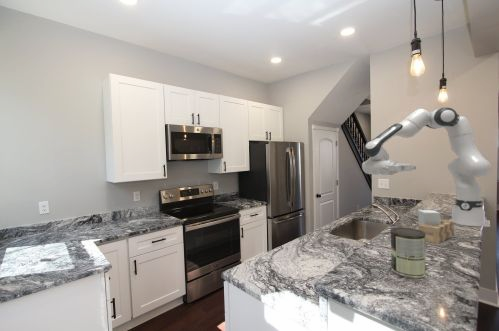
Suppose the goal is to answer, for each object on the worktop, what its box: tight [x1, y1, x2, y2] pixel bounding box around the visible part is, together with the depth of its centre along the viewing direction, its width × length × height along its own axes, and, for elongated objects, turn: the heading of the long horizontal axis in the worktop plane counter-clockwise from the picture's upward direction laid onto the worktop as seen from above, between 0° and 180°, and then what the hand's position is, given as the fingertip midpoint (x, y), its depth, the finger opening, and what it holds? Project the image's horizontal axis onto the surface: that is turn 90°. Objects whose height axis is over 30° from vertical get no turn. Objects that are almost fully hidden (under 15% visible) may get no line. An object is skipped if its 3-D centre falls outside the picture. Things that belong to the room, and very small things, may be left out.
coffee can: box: [390, 227, 427, 279], centre depth 87 cm, size 10×10×14 cm
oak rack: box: [417, 219, 455, 245], centre depth 124 cm, size 21×8×7 cm, turn 126°
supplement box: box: [417, 209, 442, 226], centre depth 127 cm, size 7×7×13 cm
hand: (414, 167), depth 140 cm, fingers closed
